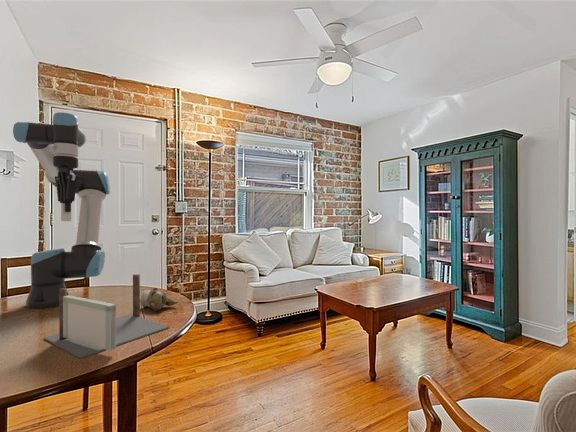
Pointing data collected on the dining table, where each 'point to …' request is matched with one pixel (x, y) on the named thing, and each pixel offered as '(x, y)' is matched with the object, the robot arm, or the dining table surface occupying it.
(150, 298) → the ceramic sculpture
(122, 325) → the mat
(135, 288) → the gate posts
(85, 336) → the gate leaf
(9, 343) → the dining table surface
